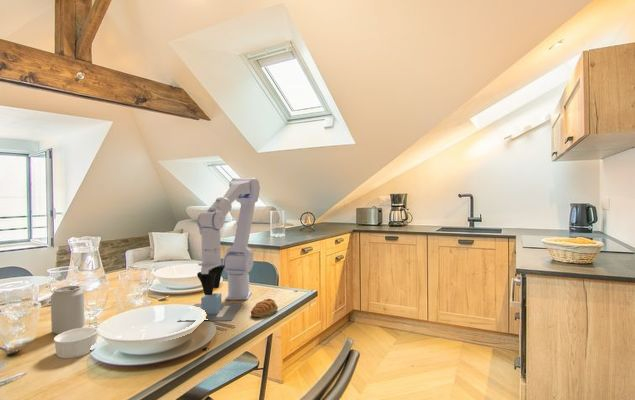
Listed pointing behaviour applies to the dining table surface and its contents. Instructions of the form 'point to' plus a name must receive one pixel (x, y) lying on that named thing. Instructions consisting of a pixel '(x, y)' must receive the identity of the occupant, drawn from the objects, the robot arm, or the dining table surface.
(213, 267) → the robot arm
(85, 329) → the ramekin
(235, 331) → the dining table surface
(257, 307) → the pastry
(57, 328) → the can
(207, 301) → the blue cube
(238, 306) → the board
